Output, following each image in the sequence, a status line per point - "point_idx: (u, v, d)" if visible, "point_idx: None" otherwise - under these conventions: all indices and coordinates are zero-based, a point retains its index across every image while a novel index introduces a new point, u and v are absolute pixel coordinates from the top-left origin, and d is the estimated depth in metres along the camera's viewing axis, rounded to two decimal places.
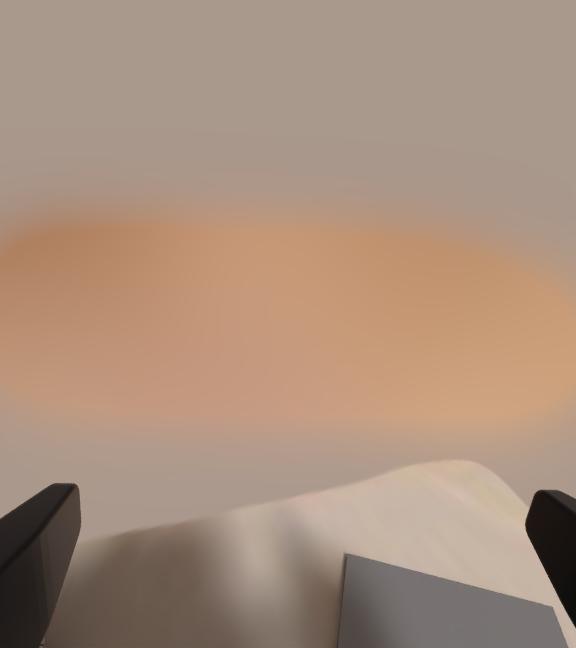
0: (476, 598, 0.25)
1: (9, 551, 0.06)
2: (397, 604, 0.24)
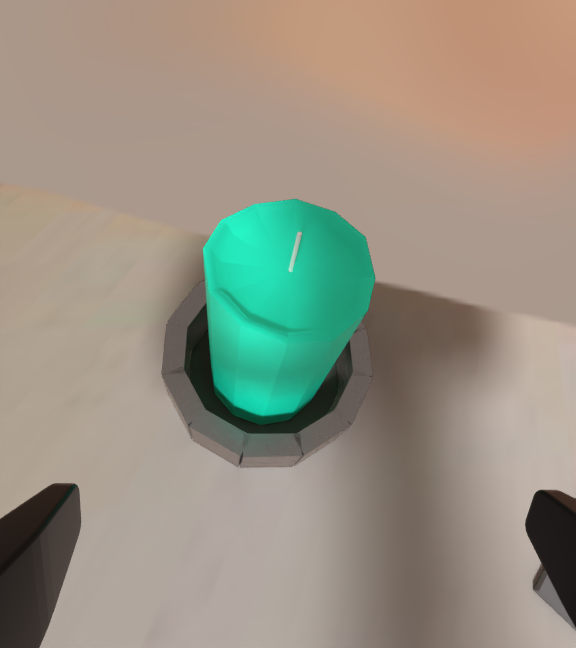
0: None
1: (9, 551, 0.06)
2: None
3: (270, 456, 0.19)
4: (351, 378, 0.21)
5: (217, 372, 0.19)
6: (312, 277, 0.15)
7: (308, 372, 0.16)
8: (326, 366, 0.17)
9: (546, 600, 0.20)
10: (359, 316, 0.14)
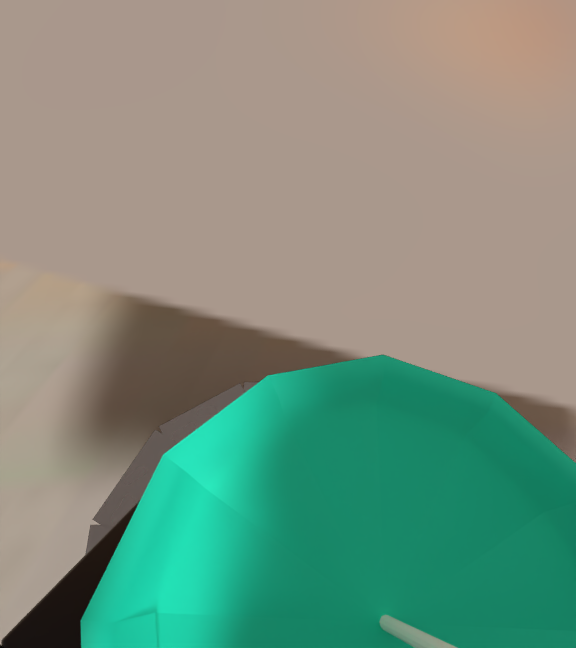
0: None
1: None
2: None
3: None
4: None
5: None
6: (458, 646, 0.05)
7: None
8: None
9: None
10: None
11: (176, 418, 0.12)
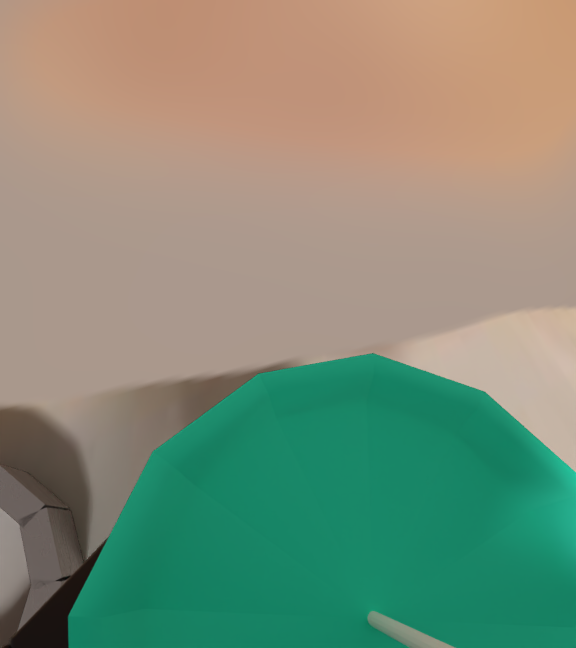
0: None
1: None
2: None
3: None
4: (29, 597, 0.15)
5: None
6: (445, 641, 0.05)
7: None
8: None
9: None
10: None
11: None
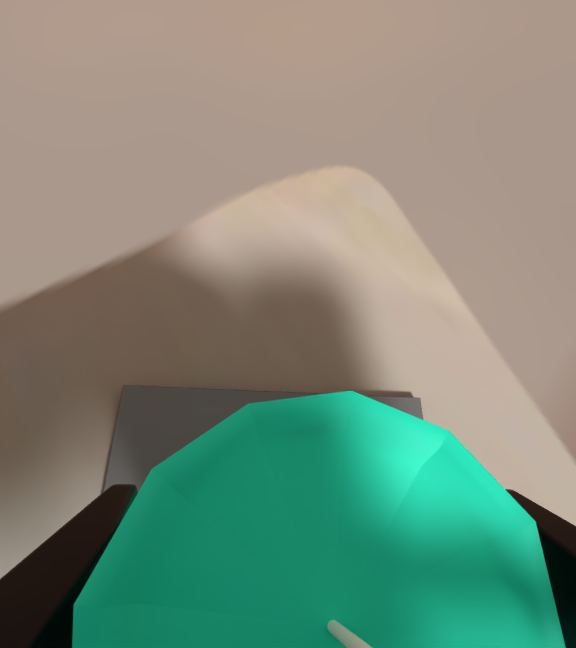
0: None
1: (89, 551, 0.06)
2: None
3: None
4: None
5: None
6: None
7: None
8: None
9: None
10: None
11: None
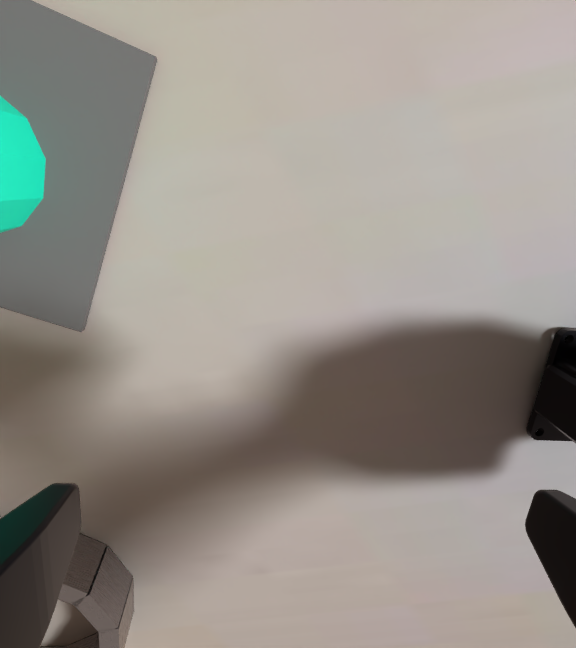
0: None
1: (9, 551, 0.06)
2: None
3: (105, 610, 0.22)
4: None
5: None
6: None
7: None
8: None
9: (86, 319, 0.20)
10: None
11: None
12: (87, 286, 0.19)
